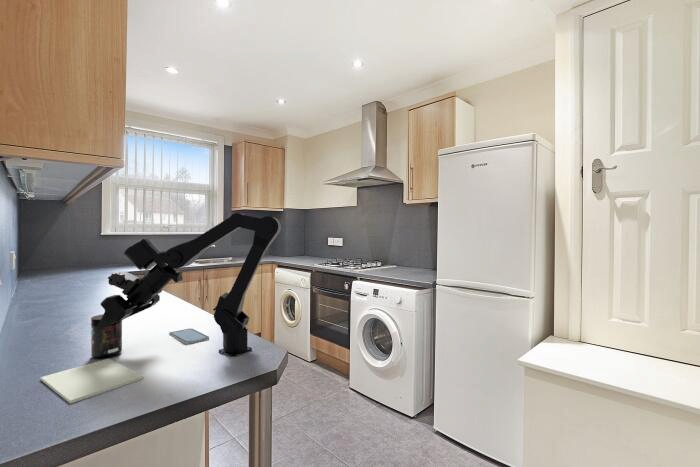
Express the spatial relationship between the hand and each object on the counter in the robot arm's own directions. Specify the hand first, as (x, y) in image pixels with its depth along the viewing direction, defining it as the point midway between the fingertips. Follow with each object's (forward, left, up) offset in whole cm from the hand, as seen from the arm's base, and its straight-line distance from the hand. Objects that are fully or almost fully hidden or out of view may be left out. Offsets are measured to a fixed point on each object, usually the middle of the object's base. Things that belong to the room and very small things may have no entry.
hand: (109, 323), depth 88 cm
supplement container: (+1, +1, -9) cm, 9 cm away
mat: (-13, +8, -8) cm, 18 cm away
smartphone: (-2, -20, -9) cm, 23 cm away
